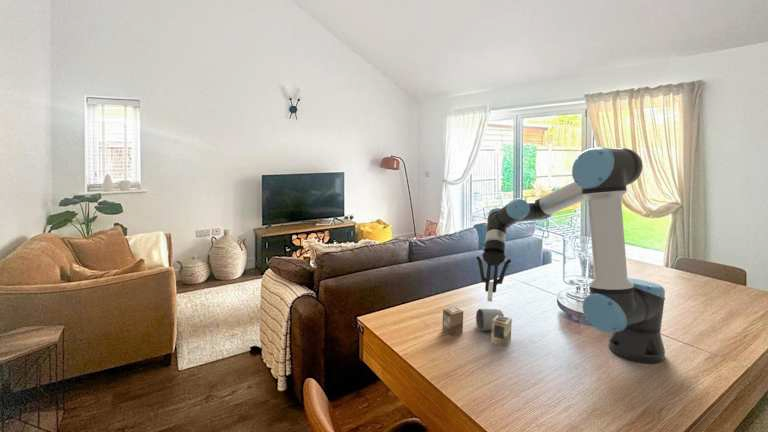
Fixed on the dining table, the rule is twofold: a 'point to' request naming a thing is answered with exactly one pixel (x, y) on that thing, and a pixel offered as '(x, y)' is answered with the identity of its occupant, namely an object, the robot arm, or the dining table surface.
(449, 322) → the walnut numeral block
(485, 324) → the ceramic mug
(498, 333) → the beige framed block
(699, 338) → the dining table surface
